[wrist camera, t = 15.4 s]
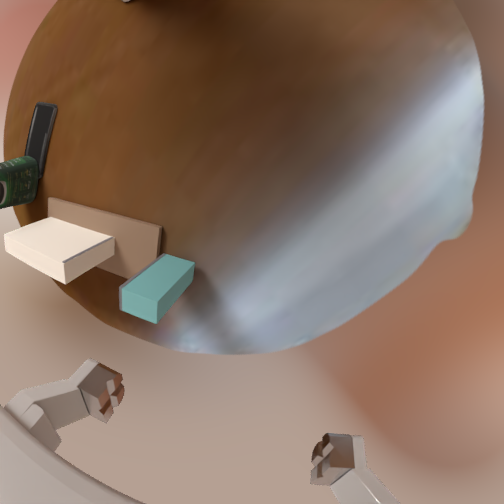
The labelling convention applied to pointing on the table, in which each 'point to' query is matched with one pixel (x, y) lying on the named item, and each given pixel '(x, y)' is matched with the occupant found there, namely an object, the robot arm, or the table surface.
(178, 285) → the teal rectangular block
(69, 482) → the robot arm
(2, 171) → the coffee jar
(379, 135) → the table surface
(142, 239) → the stand
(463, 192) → the table surface
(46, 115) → the phone
